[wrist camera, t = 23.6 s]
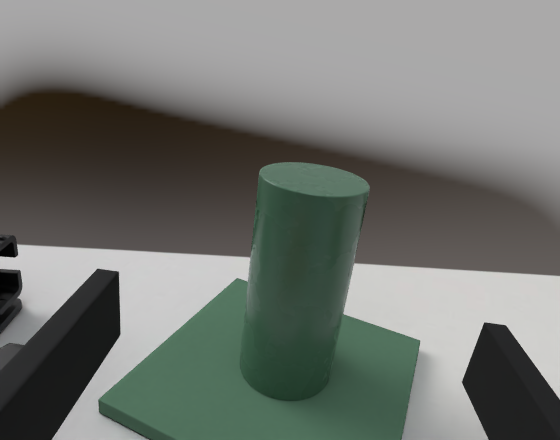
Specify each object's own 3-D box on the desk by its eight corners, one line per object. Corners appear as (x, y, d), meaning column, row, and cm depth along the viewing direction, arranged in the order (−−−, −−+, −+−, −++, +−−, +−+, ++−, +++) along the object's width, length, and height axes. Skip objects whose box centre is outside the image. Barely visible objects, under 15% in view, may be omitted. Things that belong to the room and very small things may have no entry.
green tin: (222, 377, 26) (239, 176, 21) (263, 326, 31) (285, 156, 26) (312, 416, 24) (354, 206, 19) (340, 355, 29) (379, 177, 24)
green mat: (98, 412, 24) (97, 399, 23) (236, 287, 38) (237, 277, 37) (376, 559, 18) (381, 545, 18) (417, 350, 32) (420, 340, 32)
